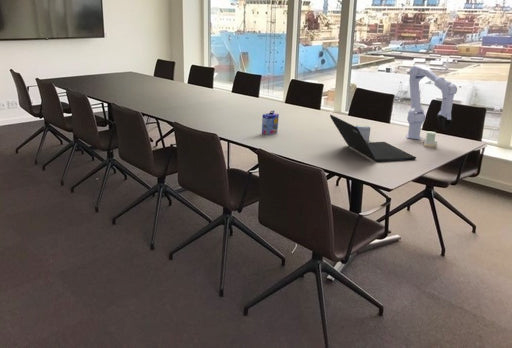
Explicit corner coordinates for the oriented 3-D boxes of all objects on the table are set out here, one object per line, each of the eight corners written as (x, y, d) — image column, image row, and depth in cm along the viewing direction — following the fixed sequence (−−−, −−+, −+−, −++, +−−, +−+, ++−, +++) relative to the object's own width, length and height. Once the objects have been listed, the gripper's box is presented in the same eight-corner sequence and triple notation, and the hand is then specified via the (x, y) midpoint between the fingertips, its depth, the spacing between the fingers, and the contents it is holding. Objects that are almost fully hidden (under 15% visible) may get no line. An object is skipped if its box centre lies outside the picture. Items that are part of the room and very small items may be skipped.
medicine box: (367, 139, 290) (368, 125, 288) (369, 141, 286) (370, 127, 283) (354, 139, 290) (355, 125, 287) (356, 141, 286) (357, 127, 283)
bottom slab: (423, 144, 286) (423, 141, 285) (435, 146, 284) (436, 142, 283) (423, 147, 279) (423, 144, 279) (436, 149, 277) (436, 145, 277)
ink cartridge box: (267, 135, 292) (268, 112, 287) (261, 133, 295) (261, 110, 291) (278, 132, 299) (279, 110, 294) (271, 131, 302) (272, 108, 298)
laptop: (416, 160, 253) (421, 125, 246) (352, 164, 243) (356, 127, 236) (384, 144, 283) (388, 111, 277) (326, 146, 273) (328, 113, 267)
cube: (426, 138, 282) (427, 131, 281) (434, 139, 281) (435, 132, 280) (426, 140, 278) (427, 132, 277) (434, 141, 277) (435, 133, 276)
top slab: (423, 141, 284) (424, 138, 283) (433, 142, 283) (434, 138, 283) (426, 144, 278) (426, 140, 277) (436, 145, 278) (437, 141, 277)
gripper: (435, 103, 280) (432, 125, 284) (443, 108, 266) (439, 131, 270) (447, 103, 279) (444, 126, 284) (456, 108, 266) (452, 132, 270)
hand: (442, 129), depth 277 cm, fingers open, 7 cm apart
